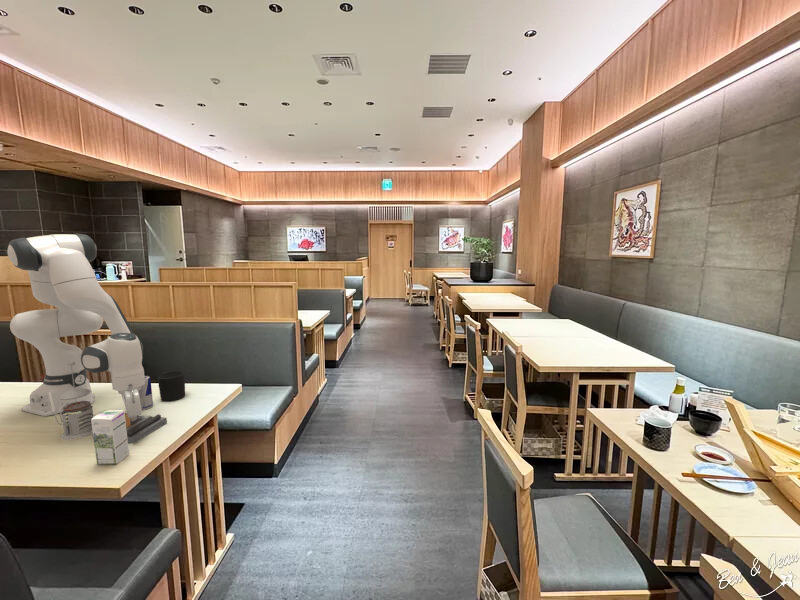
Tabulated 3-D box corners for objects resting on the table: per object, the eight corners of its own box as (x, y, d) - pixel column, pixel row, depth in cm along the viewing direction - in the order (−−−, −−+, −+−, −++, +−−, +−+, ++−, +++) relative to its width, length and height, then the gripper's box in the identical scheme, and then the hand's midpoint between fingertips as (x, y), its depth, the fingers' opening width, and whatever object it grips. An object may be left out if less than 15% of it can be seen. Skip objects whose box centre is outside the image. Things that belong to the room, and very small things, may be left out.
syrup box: (130, 453, 110) (125, 409, 108) (116, 465, 104) (110, 418, 102) (111, 453, 110) (105, 409, 108) (95, 465, 104) (89, 418, 102)
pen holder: (191, 393, 154) (189, 371, 153) (174, 403, 145) (172, 379, 144) (171, 392, 156) (169, 370, 154) (154, 401, 147) (151, 378, 145)
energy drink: (156, 404, 144) (153, 376, 142) (145, 410, 138) (142, 381, 137) (144, 404, 144) (141, 375, 142) (133, 410, 139) (129, 380, 137)
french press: (106, 425, 127) (98, 357, 123) (76, 443, 116) (66, 368, 112) (79, 424, 127) (70, 356, 124) (46, 442, 116) (35, 368, 112)
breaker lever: (114, 431, 118) (113, 416, 117) (122, 427, 121) (121, 412, 120) (123, 432, 118) (121, 417, 117) (130, 427, 121) (129, 413, 120)
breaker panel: (95, 440, 117) (93, 430, 117) (132, 420, 131) (131, 410, 130) (133, 443, 115) (132, 433, 115) (166, 422, 129) (166, 413, 129)
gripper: (144, 387, 115) (149, 427, 117) (136, 371, 130) (140, 407, 132) (119, 392, 111) (124, 434, 113) (114, 375, 126) (119, 412, 128)
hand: (133, 419), depth 123 cm, fingers closed
